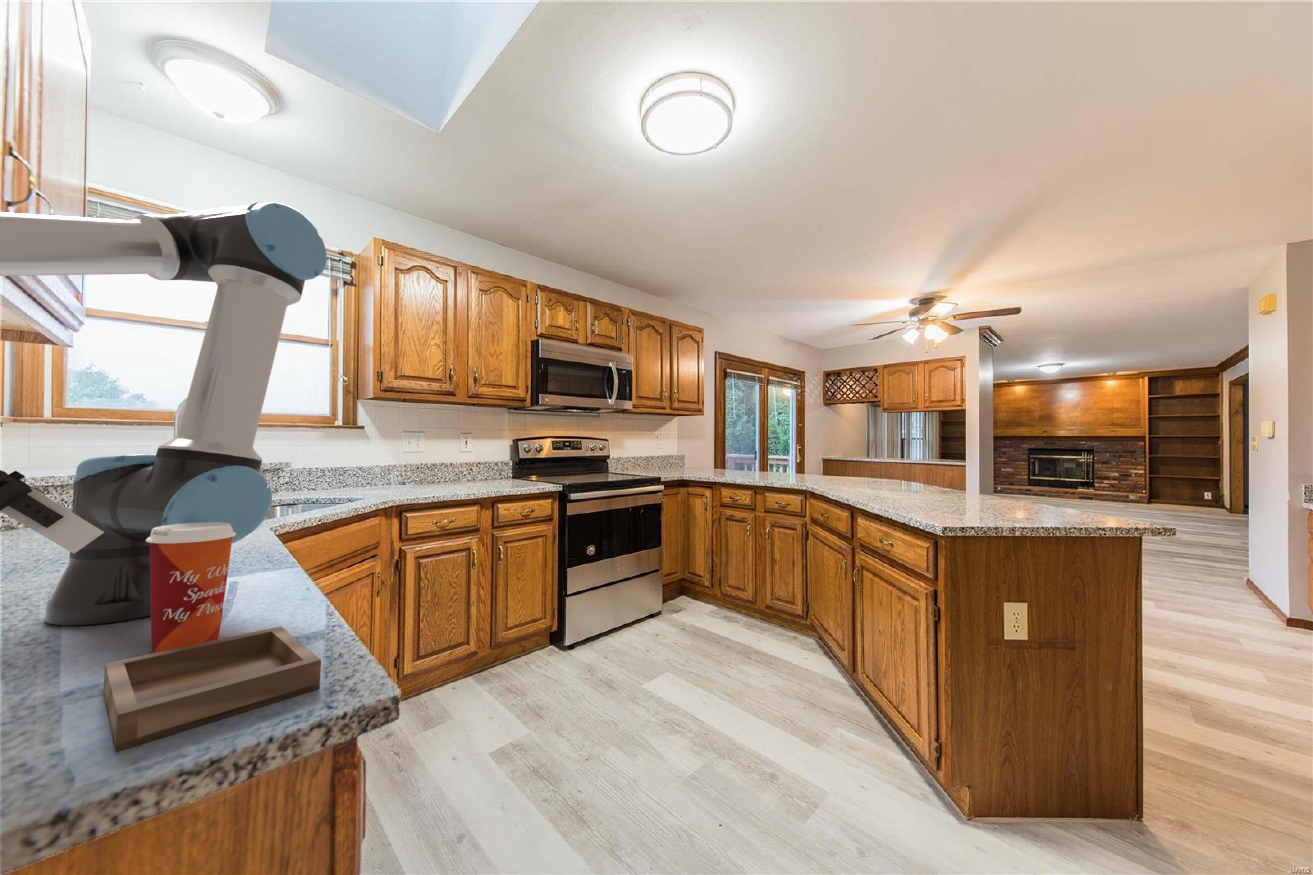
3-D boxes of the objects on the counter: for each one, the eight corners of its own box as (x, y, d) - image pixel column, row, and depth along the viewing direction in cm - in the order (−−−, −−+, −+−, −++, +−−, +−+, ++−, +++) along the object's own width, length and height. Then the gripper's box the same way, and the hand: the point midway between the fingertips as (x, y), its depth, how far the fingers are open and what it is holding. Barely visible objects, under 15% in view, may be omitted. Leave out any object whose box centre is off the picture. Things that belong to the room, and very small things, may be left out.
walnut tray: (103, 693, 49) (105, 663, 49) (279, 650, 60) (280, 626, 60) (115, 752, 40) (117, 714, 40) (319, 688, 51) (321, 659, 51)
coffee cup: (172, 663, 56) (181, 532, 56) (119, 655, 57) (127, 528, 58) (247, 636, 64) (254, 523, 64) (198, 630, 65) (205, 519, 66)
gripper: (-224, 410, 46) (24, 547, 58) (-293, 401, 32) (53, 583, 44) (-114, 364, 50) (95, 500, 62) (-132, 338, 36) (141, 519, 48)
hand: (78, 534), depth 53 cm, fingers open, 13 cm apart
